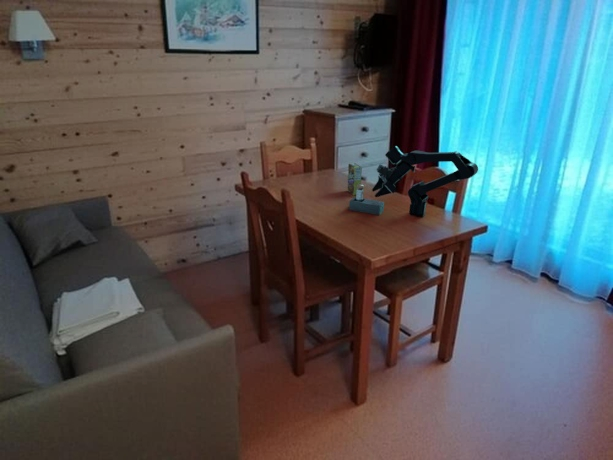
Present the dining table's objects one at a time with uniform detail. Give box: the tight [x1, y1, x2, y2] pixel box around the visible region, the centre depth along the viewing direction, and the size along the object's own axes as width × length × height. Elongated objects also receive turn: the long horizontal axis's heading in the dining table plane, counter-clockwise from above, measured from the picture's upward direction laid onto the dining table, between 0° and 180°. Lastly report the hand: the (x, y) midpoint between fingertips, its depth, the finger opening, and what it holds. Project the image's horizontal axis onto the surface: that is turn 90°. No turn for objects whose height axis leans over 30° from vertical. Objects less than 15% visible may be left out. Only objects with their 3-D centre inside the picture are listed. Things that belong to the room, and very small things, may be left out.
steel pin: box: [355, 183, 364, 202], centre depth 217 cm, size 3×3×12 cm
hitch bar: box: [348, 196, 385, 216], centre depth 217 cm, size 15×7×4 cm, turn 64°
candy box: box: [347, 162, 363, 196], centre depth 240 cm, size 9×4×15 cm, turn 17°
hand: (373, 193), depth 216 cm, fingers open, 9 cm apart
